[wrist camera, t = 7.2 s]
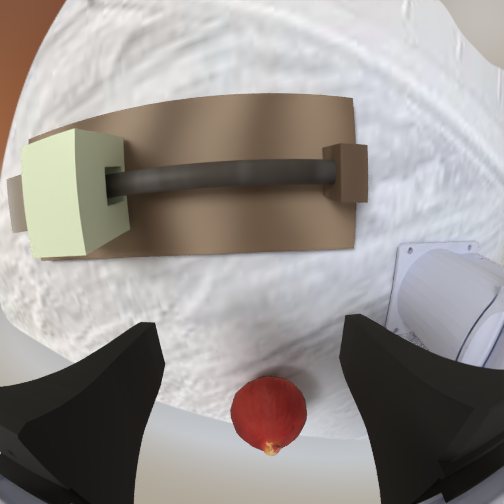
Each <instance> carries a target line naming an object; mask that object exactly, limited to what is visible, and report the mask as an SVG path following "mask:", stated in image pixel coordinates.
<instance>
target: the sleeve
mask: <svg viewBox="0 0 504 504" xmlns="http://www.w3.org/2000/svg"><path fill="white" fill-rule="evenodd" d="M118 172H125V166H124V142H123V137H119V136H114V135H109V134H104V133H99V132H93V131H88V130H82V129H76V128H74V129H71V130H67V131H64V132H61V133H58V134H55V135H52V136H50V137H47V138H44V139H41V140H39V141H36V142H33V143H31V144H28V145H26V146H23V147H21V173H22V188H23V199H24V208H25V216H26V223H27V229H28V235H29V241H30V246H31V251H32V256H33V258H42V257H63V256H84V255H88V254H89V253H91V252H93V251H94V250H96V249H98V248H99V247H101V246H103V245H104V244H106V243H108V242H109V241H111V240H113V239H114V238H116V237H118V236H120V235H121V234H123V233H125V232H127V231H128V230H130V223H129V214H128V205H127V196H119V197H111V198H107V194H106V182H105V175H106V174H112V173H118Z"/></svg>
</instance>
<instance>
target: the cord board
mask: <svg viewBox="0 0 504 504" xmlns="http://www.w3.org/2000/svg"><path fill="white" fill-rule="evenodd" d="M74 128H76V129H82V130H88V131H93V132H99V133H104V134H109V135H114V136H119V137H123V142H124V166H125V172H118V173H112V174H106V175H105V182H106V194H107V198H111V197H119V196H127V205H128V214H129V223H130V230H128V231H127V232H125V233H123V234H121V235H120V236H118V237H116V238H114V239H113V240H111V241H109V242H108V243H106V244H104V245H103V246H101V247H99V248H98V249H96V250H94V251H93V252H91V253H89V254H88V255H84V256H63V257H42V258H41V261H47V260H73V259H98V258H123V257H149V256H174V255H199V254H224V253H249V252H274V251H299V250H323V249H348V248H354V239H355V218H356V202H366V203H368V151H367V145H360V144H356V143H355V123H354V108H353V98H347V97H338V96H326V95H311V94H285V93H260V94H233V95H218V96H207V97H197V98H189V99H181V100H174V101H167V102H161V103H155V104H149V105H144V106H139V107H134V108H129V109H125V110H120V111H116V112H112V113H108V114H104V115H100V116H96V117H93V118H89V119H86V120H82V121H79V122H76V123H73V124H70V125H66V126H63V127H61V128H58V129H55V130H52V131H49V132H47V133H44V134H41V135H39V136H36V137H34V138H31V139H29V144H31V143H33V142H36V141H39V140H41V139H44V138H47V137H50V136H52V135H55V134H58V133H61V132H64V131H67V130H71V129H74ZM7 190H8V201H9V210H10V217H11V224H12V231H13V233H16V232H23V231H28V229H27V223H26V216H25V208H24V199H23V188H22V174H21V175H18V176H15V177H12V178H10V179H7Z"/></svg>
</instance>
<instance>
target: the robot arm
mask: <svg viewBox="0 0 504 504" xmlns="http://www.w3.org/2000/svg"><path fill="white" fill-rule="evenodd" d="M468 246H469V247H468ZM409 248H410V251H409V252H408V249H409ZM478 250H479V243H478V242H476V241H456V242H427V243H403V244H401V245H400V246H399V247H398V251H397V259H396V267H395V275H394V281H393V288H392V294H391V300H390V305H389V311H388V316H387V321H386V326H385V328H384V327H383V326H381V325H379V324H378V323H376V322H374V321H373V320H371V319H369V318H367V317H366V316H364V315H362V314H354V315H345V322H344V329H343V336H342V343H341V349H340V355H339V359H340V363H341V367H342V370H343V374H344V377H345V380H346V382H347V384H348V387H349V389H350V391H351V394H352V396H353V398H354V400H355V403H356V405H357V407H358V409H359V412H360V414H361V416H362V419H363V421H364V424H365V426H366V429H367V433H368V436H369V440H370V444H371V447H372V452H373V456H374V460H375V465H376V470H377V476H378V482H379V488H380V497H381V504H504V266H502V265H500V264H498V263H496V262H494V261H492V260H490V259H488V258H486V257H484V256H482V255H480V254H478ZM394 329H396V330H395V331H394ZM410 332H413V333H414V334H415V335H416V336H417V337H418V338H419V339H420V341H421V342H422V343H423V344H424V345H425V346H426V347H427V349H428V350H429V351H427V350H425V349H423V348H421V347H419V346H417V345H415V344H413V343H411V342H409V341H407V340H405V339H403V338H401V337H400V336H398V335H400V334H405V333H410ZM164 367H165V361H164V358H163V354H162V350H161V346H160V342H159V338H158V334H157V329H156V325H155V323H152V322H140V323H138V324H136V325H135V326H133V327H132V328H130V329H128V330H127V331H126V332H124V333H123V334H121V335H120V336H118V337H117V338H115V339H114V340H112V341H111V342H109V343H108V344H106V345H105V346H103V347H102V348H100V349H99V350H97V351H95V352H94V353H92V354H91V355H89V356H87V357H86V358H84V359H82V360H80V361H79V362H77V363H75V364H73V365H71V366H69V367H67V368H64V369H62V370H60V371H58V372H55V373H53V374H50V375H47V376H44V377H42V378H39V379H36V380H32V381H29V382H25V383H21V384H16V385H11V386H4V387H0V452H1V454H0V504H134V490H135V478H136V470H137V464H138V457H139V452H140V447H141V442H142V437H143V434H144V430H145V427H146V424H147V421H148V419H149V416H150V413H151V411H152V408H153V405H154V402H155V400H156V397H157V394H158V391H159V389H160V386H161V382H162V377H163V373H164Z"/></svg>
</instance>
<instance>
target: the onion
mask: <svg viewBox="0 0 504 504" xmlns="http://www.w3.org/2000/svg"><path fill="white" fill-rule="evenodd" d="M230 411H231V419H232V422H233V425H234V427H235V430H236V432H237V434H238V435H239V436H240V437H241V438H242V439H243V440H244V441H246V442H247V443H249V444H250V445H251V446H252V447H255V448H257V449H260V450H262V451H264V452H265V453H266V454H267V455H271V456H274V455H276V454H277V453H278V452H279V451H280V449H281V448H283V447H285V446H287V445H289V444H290V443H291V442H292V441H294V440H295V439H296V438H297V437H298V435H299V434H300V432H301V431H302V429H303V427H304V425H305V422H306V419H307V410H306V403H305V399H304V396H303V394H302V392H301V391H300V390H299V389H298V388H297V387H296V386H295V385H294V384H293V383H291V382H290V381H287V380H285V379H283V378H278V377H271V376H269V377H262V378H259V379H256V380H253V381H251V382H248V383H247V384H246V385H245V386H243V387H242V388H241V389H240V390H239V391H238V392H237V393H236V394H235V397H234V399H233V403H232V406H231V410H230Z"/></svg>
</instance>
